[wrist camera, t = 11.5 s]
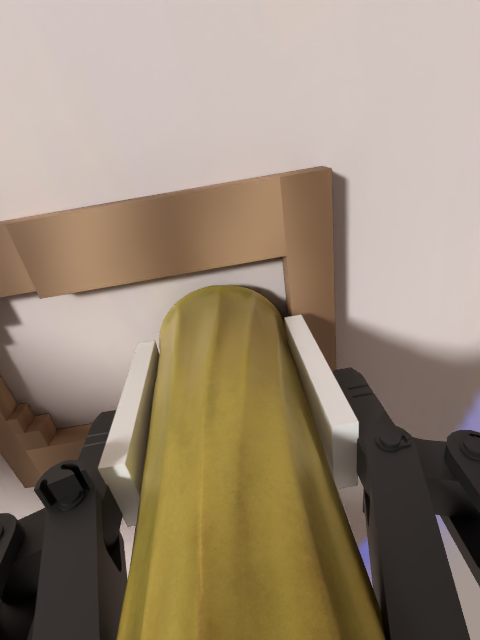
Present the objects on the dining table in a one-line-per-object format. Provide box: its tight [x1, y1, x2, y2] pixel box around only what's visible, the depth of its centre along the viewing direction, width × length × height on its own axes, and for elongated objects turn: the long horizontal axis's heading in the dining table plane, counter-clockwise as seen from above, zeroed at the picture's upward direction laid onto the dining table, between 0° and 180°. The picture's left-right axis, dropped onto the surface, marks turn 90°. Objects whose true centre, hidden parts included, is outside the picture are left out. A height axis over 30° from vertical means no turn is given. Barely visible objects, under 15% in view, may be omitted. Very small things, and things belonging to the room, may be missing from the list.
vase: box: [117, 285, 386, 640], centre depth 11 cm, size 6×6×14 cm
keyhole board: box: [0, 166, 336, 488], centre depth 17 cm, size 18×14×1 cm
